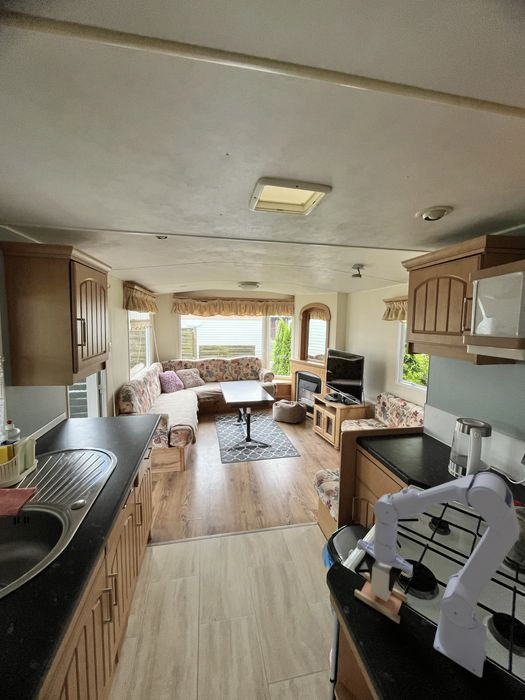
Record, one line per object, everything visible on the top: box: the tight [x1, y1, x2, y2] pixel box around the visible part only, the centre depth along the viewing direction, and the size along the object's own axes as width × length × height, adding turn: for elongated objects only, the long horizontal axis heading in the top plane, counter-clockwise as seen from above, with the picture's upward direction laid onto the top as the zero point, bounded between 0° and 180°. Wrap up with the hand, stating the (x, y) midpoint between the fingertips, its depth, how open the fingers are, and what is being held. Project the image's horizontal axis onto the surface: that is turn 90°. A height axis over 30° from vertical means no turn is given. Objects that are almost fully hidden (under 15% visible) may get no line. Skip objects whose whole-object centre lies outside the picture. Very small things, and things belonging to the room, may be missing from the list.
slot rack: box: [353, 571, 410, 625], centre depth 87 cm, size 12×16×2 cm
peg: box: [371, 560, 392, 602], centre depth 84 cm, size 4×4×8 cm
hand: (381, 583), depth 83 cm, fingers closed on peg, 4 cm apart
